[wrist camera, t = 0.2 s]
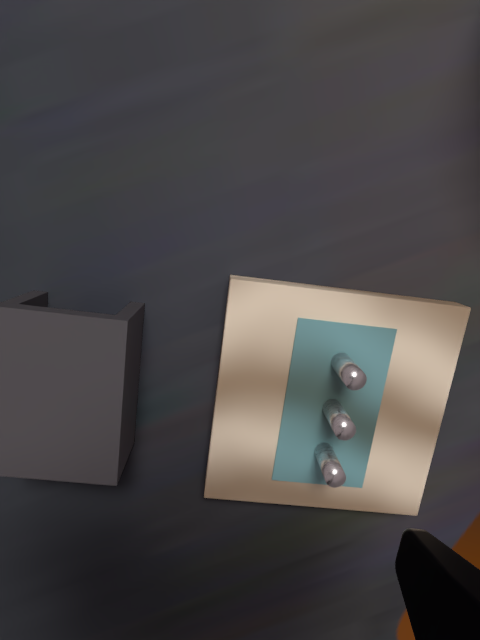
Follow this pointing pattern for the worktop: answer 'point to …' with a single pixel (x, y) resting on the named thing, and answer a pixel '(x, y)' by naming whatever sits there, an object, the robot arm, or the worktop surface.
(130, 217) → the worktop surface
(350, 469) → the pin board
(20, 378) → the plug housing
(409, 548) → the robot arm
